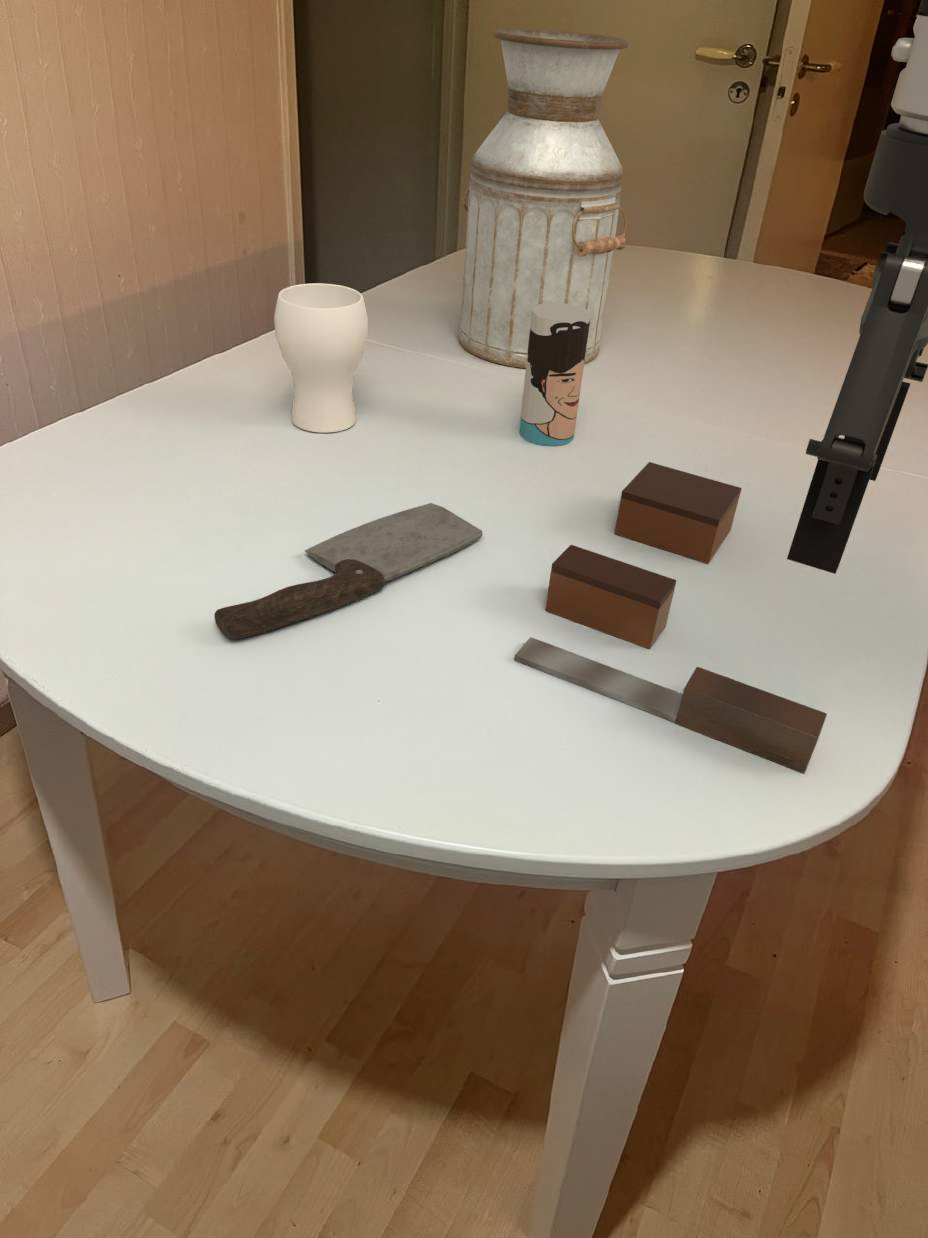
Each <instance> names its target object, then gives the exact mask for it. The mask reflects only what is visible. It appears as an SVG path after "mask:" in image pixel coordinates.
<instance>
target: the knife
mask: <svg viewBox="0 0 928 1238" xmlns="http://www.w3.org/2000/svg"><path fill="white" fill-rule="evenodd" d="M513 660H514V661H515V662H518V663H520V664H523V665H526V666H528V667H531V668H533V669H536V670H538V671H541V672H543V673H546V674H548V675H552V676H553V677H556V678H559V679H561V680H563V681H567V682H569V683H572V684H574V685H577V686H580V687H582V688H584V689H587V690H590V691H593V692H595V693H598V694H600V695H603V696H605V697H607V698H610V699H613V700H616V701H618V702H621V703H622V704H626V705H629V706H631V707H634V708H636V709H639V710H641V711H643V712H647V713H649V714H652V715H654V716H657V717H659V718H662V719H665V720H667V721H669V722H672V723H675V724H676V725H678V726H680V727H683V728H685V729H688V730H691V731H694V732H696V733H699V734H702V735H703V736H706V737H710V738H712V739H715V740H716V741H719V742H721V743H725V744H727V745H730V746H731V747H735V748H737V749H740V750H743V751H745V752H748V753H750V754H753V755H754V756H757V757H760V758H763V759H765V760H769V761H770V762H773V763H776V764H779V765H781V766H783V767H787V768H789V769H791V770H794V771H797V772H799V773H802V774H805V773H806V772H807V769H808V766H809V764H810V762H811V758H812V756H813V754H814V751H815V748H816V746H817V743H818V741H819V738H820V736H821V733H822V729H823V727H824V725H825V722H826V718H827V716H828V713H827V712H825V711H821V710H818V709H816V708H813V707H810V706H807V705H805V704H802V703H799V702H796V701H794V700H791V699H788V698H786V697H783V696H780V695H778V694H775V693H771V692H769V691H766V690H763V689H761V688H758V687H755V686H752V685H750V684H747V683H744V682H741V681H739V680H736V679H734V678H731V677H728V676H725V675H722V674H719V673H716V672H713V671H711V670H708V669H706V668H703V667H700V666H696V667H695V669H694V671H693V672H692V674H691V676H690V677H689V679H688V681H687V682H686V684H685V686H684V688H683V691H682V693H681V692H678V691H676V690H673V689H671V688H667V687H665V686H662V685H660V684H658V683H654V682H652V681H649V680H647V679H644V678H641V677H638V676H636V675H633V674H630V673H627V672H626V671H622V670H620V669H617V668H615V667H611V666H610V665H608V664H607V665H606V664H604V663H601V662H599V661H596V660H593V659H590V658H588V657H585V656H583V655H580V654H578V653H575V652H572V651H569V650H567V649H563V648H561V647H559V646H556V645H554V644H550V643H548V642H546V641H542V640H540V639H538V638H534V637H532V636H530V637H529V638H528V639H527V640H526V641H525V643H523V645H522V646H521V647H520V648H519V650H517V652H516V653H515V654H514V659H513Z"/></svg>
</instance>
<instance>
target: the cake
mask: <svg viewBox="0 0 928 1238" xmlns="http://www.w3.org/2000/svg"><path fill="white" fill-rule="evenodd" d="M741 493H742V487H740V486H736V485H733V484H729V483H726V482H722V481H718V480H715V479H711V478H708V477H705V476H701V475H697V474H693V473H690V472H687V471H683V470H679V469H676V468H672V467H669V466H666V465H662V464H658V463H655V462H651V461H649V462H647V463H646V465H645V466H644V467H642V469H641V470H640V471H639V472H638V473H637V474H636V475H635V476H634V477H633V478H632V480H631V481H630V482H629V483H628V484H627V485H626V486H625V487H624V488H623V489H622V490H621V494H620V500H619V505H618V510H617V515H616V517H617V518H616V521H615V527H614V533H613V534H614V535H615V536H619V537H621V538H626V539H629V540H632V541H635V542H638V543H641V544H643V545H648V546H650V547H654V548H657V549H660V550H663V551H666V552H670V553H673V554H675V555H679V556H682V557H685V558H688V559H691V560H695V561H698V562H701V563H704V564H707V565H708V564H709V563H710V562H711V560H712V559H713V557H714V556H715V554H716V553H717V551H718V550H719V548H720V547H721V545H722V544H723V543H724V541H725V539H726V538H727V537H728V535H729V533H730V532H731V530H732V527H733V522H734V519H735V515H736V511H737V508H738V504H739V500H740V497H741Z"/></svg>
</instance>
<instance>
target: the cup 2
mask: <svg viewBox="0 0 928 1238" xmlns="http://www.w3.org/2000/svg"><path fill="white" fill-rule="evenodd" d="M590 319H591V313H590V312H589V311H588V310H586V309H585V308H582V307H580V306H576V305H572V304H566V303H542V304H538V305H536V306H534V307H533V308H532V314H531V324H530V333H529V343H528V353H527V362H526V368H525V373H524V382H523V390H522V391H523V392H522V402H521V412H520V421H519V429H518V430H519V432H518V434H519V436H520V437H521V439H524V440H525V441H527V442H528V443H531V444H535V445H538V446H544V447H560V446H565V445H568V444H570V443H571V442H572V441H574V437H575V430H576V424H577V416H578V412H579V411H578V410H579V404H580V397H581V389H582V382H583V374H584V367H585V363H584V361H585V354H586V347H587V340H588V333H589V326H590Z"/></svg>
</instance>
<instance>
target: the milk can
mask: <svg viewBox="0 0 928 1238" xmlns="http://www.w3.org/2000/svg"><path fill="white" fill-rule="evenodd" d="M493 37H494V38H495V39H497V40H500V44H501V51H502V57H503V62H504V69H505V74H506V81H507V88H508V90H507V111H506V112H505V113H504V115H503V116H502V118H501V119H500V120H498V121H499V122H497V123H496V125H495V127H494V128H493V129H492V130H491V132H490V133H489V134H488V135H487V137H486V138H485V139H484V141H483V142H482V143H481V145H480V146H479V148H477V150H476V151H475V153H474V154H473V156H472V157H471V159H470V162H469V163H470V164H469V169H470V175H469V177H468V178H469V185H468V186H467V188H466V190H465V192H464V195H463V200H462V204H463V208H464V209H465V213H466V216H467V217H466V235H465V248H464V249H465V251H464V267H463V281H462V282H463V283H462V299H461V315H460V322H459V328H458V329H459V330H458V337H457V338H458V340H459V344H460V345H461V347H462V348H463V349H464V350H466V351H467V352H468V353H470V354H472V355H473V356H475V357H476V358H480V359H482V360H485V361H488V362H491V363H494V364H499V365H501V366H507V367H513V368H520V369H526V362H527V353H528V343H529V333H530V324H531V314H532V308H533V307H534V306H536V305H538V304H542V303H566V304H572V305H576V306H580V307H582V308H585V309H586V310H588V311H589V312H590V313H591V319H590V326H589V333H588V340H587V347H586V354H585V361H584V364H588V363H589V362H591V361H592V360H594V359H595V358H596V357H597V356H598V354H599V352H600V349H601V347H600V346H601V340H602V339H601V338H602V330H603V323H604V317H605V310H606V303H607V298H608V297H607V296H608V289H609V283H610V276H611V269H612V262H613V255H614V250H616V251H623V250H624V249H625V247H626V245H627V240H626V237H625V236H626V233H627V229H628V219H627V215H626V213H625V211H624V210H623V208H621V197H622V193H623V187H622V185H623V183H624V180H625V171H624V169H623V166H622V164H621V162H620V160H619V158H618V156H617V154H616V152H615V149H614V148H613V146H612V144H611V142H610V140H609V138H608V136H607V134H606V132H605V129H604V128H603V126H602V124H601V121H600V119H599V115H600V109H601V104H602V100H603V99H602V98H603V95H604V92H605V89H606V88H607V84H608V81H609V79H610V76H611V73H612V71H613V68H614V66H615V63H616V60H617V57H618V55H619V53H620V50H623V49H627V48H628V47H629V41H628V40H626V39H623V38H620V37H614V36H608V35H602V34H595V33H594V34H593V33H586V32H585V33H584V32H575V31H565V30H551V29H531V28H499V29H496V30H494V32H493ZM467 195H468V201H466V200H467ZM466 203H468V204H466ZM620 213H621V214H622V217H623V221H624V226H623V227H624V228H623V231H622V234H618V235H617V230H618V223H619V222H618V221H619V215H620Z"/></svg>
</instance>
